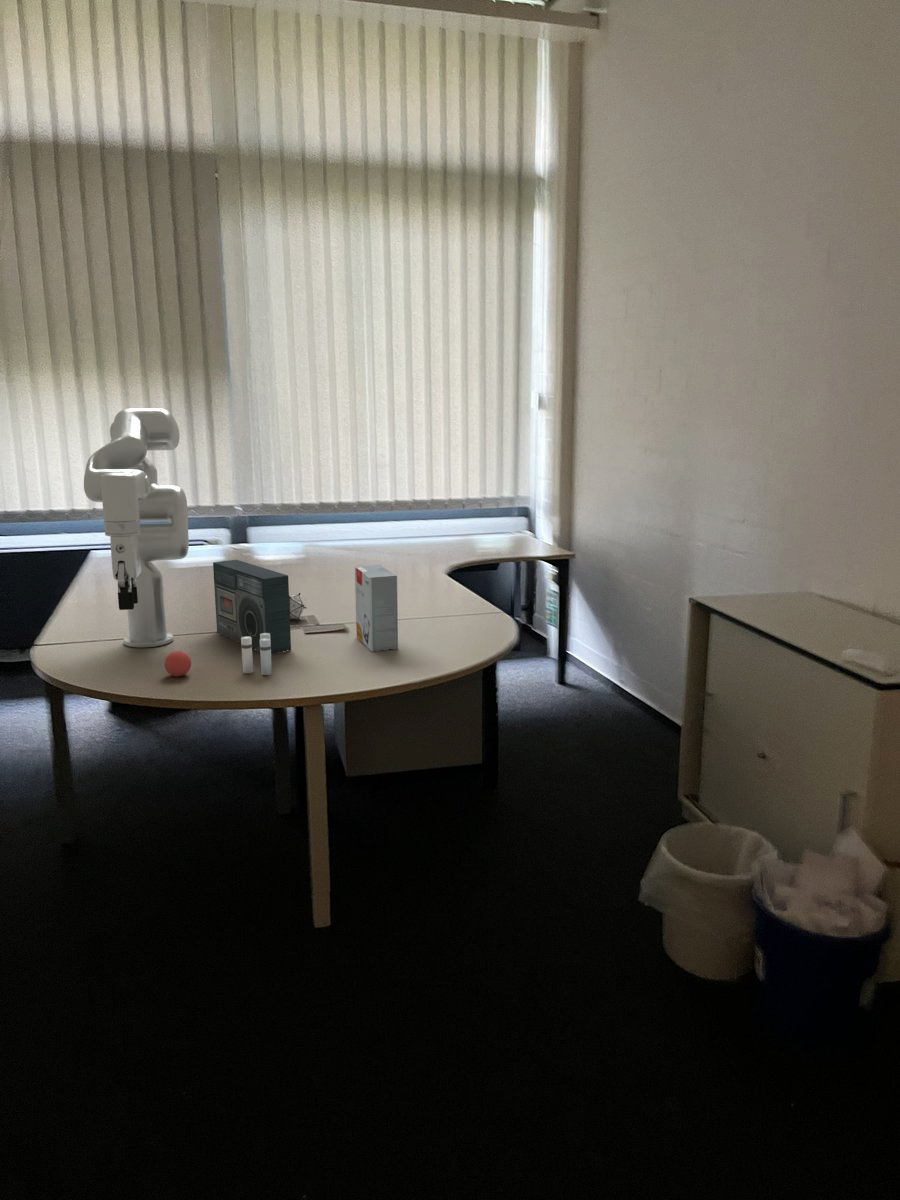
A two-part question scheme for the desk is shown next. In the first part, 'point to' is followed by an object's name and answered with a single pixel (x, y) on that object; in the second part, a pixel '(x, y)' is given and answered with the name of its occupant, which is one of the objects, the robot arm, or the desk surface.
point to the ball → (177, 663)
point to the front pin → (247, 654)
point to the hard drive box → (376, 607)
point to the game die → (295, 606)
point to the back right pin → (265, 656)
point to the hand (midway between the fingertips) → (128, 605)
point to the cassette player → (252, 603)
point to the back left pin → (265, 635)
